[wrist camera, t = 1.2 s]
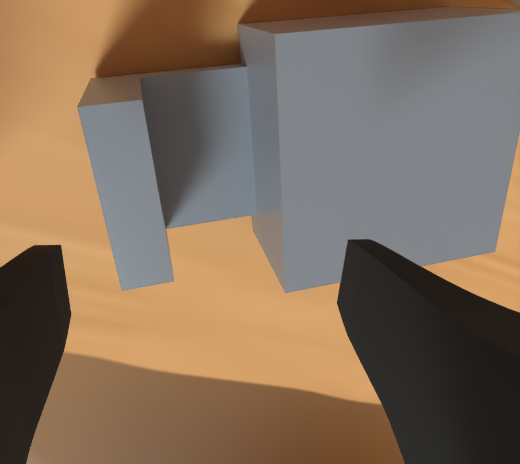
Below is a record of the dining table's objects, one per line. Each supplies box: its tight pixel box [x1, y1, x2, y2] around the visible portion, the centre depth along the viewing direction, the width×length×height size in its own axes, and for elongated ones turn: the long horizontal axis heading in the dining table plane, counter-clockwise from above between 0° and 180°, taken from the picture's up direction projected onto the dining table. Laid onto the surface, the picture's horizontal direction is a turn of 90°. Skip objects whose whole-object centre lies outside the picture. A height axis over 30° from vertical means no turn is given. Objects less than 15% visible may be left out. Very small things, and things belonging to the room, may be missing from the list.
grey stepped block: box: [78, 7, 520, 293], centre depth 20 cm, size 17×10×6 cm, turn 93°
